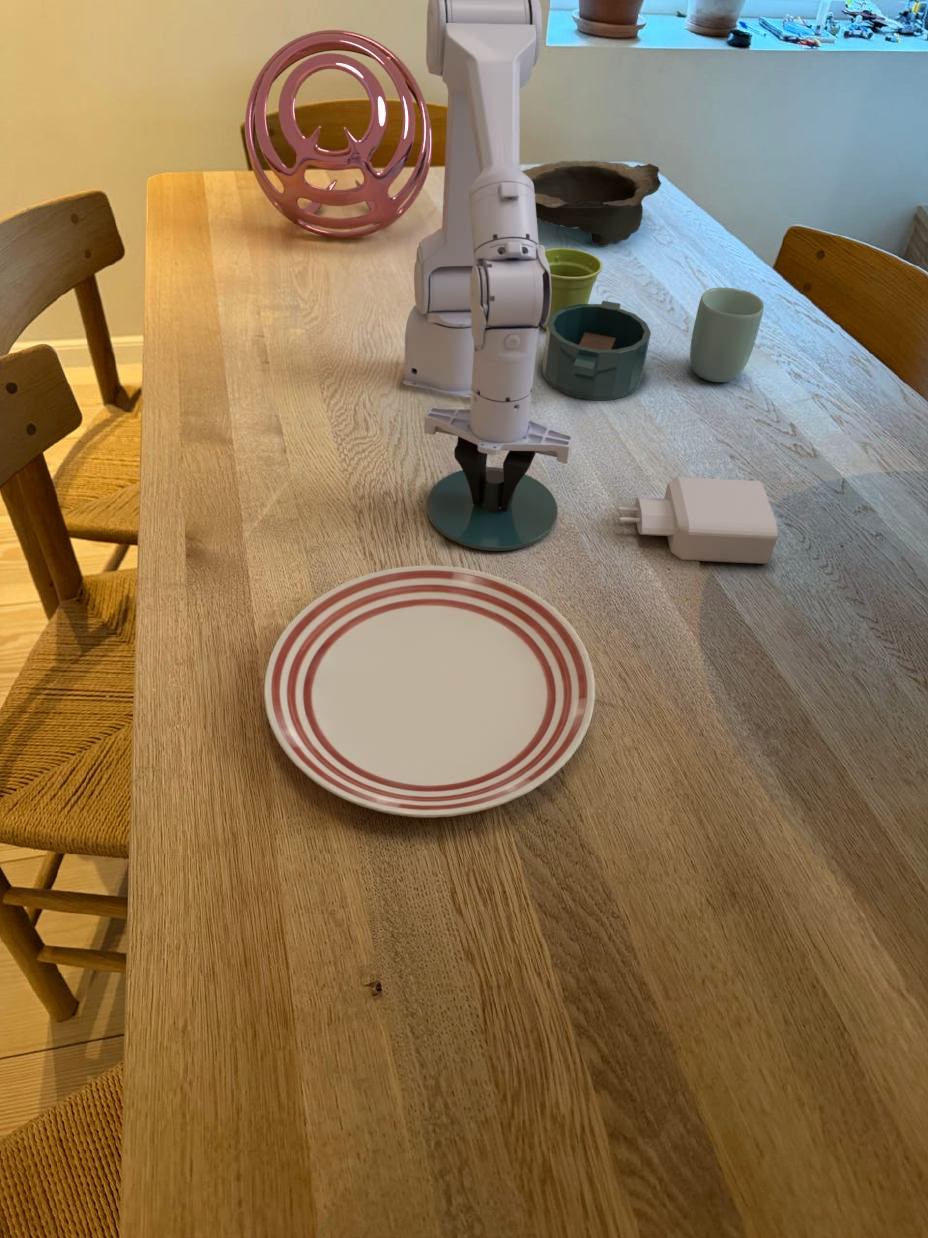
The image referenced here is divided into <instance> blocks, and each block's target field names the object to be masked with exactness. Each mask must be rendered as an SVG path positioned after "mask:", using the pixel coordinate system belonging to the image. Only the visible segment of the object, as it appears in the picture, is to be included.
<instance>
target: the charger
mask: <svg viewBox="0 0 928 1238" xmlns="http://www.w3.org/2000/svg"><path fill="white" fill-rule="evenodd" d="M665 489H666V490H665V494H664V498H653V497H652V498H651V497H636V498H635V505H634V507H633V506H617V507H616V510H617V512H625V513H627V512H629V513H635V517H629V516H620V517H618V521H619V522H620V523H621V522H623V523H636V528H637V532H638V534H639V535H640V536H641V535H643V536H665V537H667V540H668V546H669V551H670V553H671V554H673V555H674V556H675V557H676V558H678V559H680V560H682V561H699V562H718V563H738V564H739V563H740V564H757V565H758V564H759V565H761V564H762V565H768V564H769V563H770V560H771V557H772V554H773V552H774V548H775V546H776V543H777V540H778V536H779V533H778V532H779V531H778V525H777V521H776V518H775V515H774V512H773V509H772V507H771V503H770V500H769V498H768V495H767V492H766V489H765V486H764V484H763V482H762V481H761V480H749V479H746V480H745V479H731V478H730V479H727V478H705V477H689V476H676V477H675V478H673V479H672V480H670V481H669V482H668V483H667V486H666V488H665Z"/></svg>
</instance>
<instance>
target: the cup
mask: <svg viewBox="0 0 928 1238" xmlns="http://www.w3.org/2000/svg"><path fill="white" fill-rule="evenodd" d="M764 309H765V306H764V301H763V300H762V299H761V298H760V297H759V296H757V295H756V294H754V293H752V292H750V291H747V290H743V289H739V288H735V287H713V288H712V287H711V288H710V289H706V291H704V292H703V293H702V295H701V297H700V299H699V302H698V306H697V310H696V314H695V315H696V316H695V319H694V324H693V329H692V334H691V340H690V349H689V359H690V365H691V369H692V370H693V372H694V373H695V375H697V376H698V377H699V378H701V379H703V380H705V381H708V382H713V383H727V382H731V381H733V380H735V379H736V378H738V377H739V376H740V375H741V374H742V373H743V371H744V370H745V368H746V366H747V364H748V362H749V359H750V357H751V354H752V352H753V349H754V346H755V343H756V339H757V336H758V334H759V329H760V326H761V322H762V318H763V314H764Z"/></svg>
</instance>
